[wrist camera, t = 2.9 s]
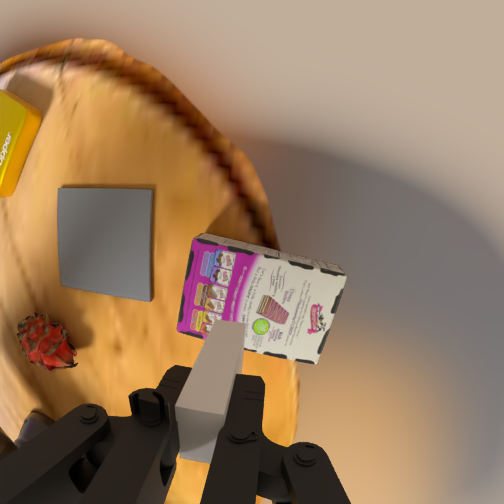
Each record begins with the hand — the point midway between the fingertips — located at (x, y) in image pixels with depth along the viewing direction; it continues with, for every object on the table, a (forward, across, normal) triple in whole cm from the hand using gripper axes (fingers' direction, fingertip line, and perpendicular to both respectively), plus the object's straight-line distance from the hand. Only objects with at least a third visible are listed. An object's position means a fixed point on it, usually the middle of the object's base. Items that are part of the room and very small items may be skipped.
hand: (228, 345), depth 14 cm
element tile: (+21, -43, +15) cm, 50 cm away
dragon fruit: (+21, -30, -16) cm, 40 cm away
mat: (+21, -20, 0) cm, 29 cm away
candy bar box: (+18, -7, -3) cm, 20 cm away
